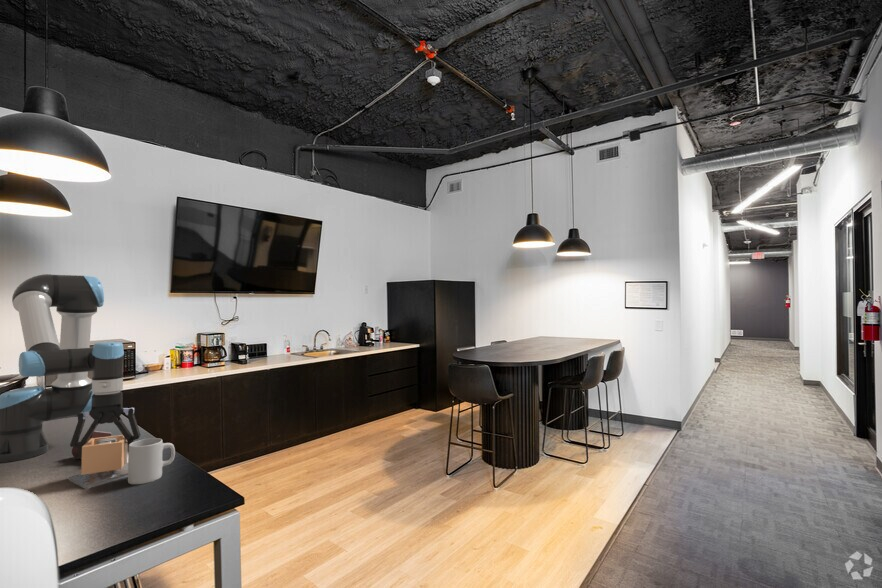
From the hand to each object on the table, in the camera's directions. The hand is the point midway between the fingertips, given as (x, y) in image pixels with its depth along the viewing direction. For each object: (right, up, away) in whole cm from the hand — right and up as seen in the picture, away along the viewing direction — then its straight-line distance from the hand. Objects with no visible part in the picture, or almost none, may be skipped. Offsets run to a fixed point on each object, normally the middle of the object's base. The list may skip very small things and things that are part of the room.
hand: (105, 465), depth 129 cm
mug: (+15, -3, -1) cm, 15 cm away
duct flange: (0, -3, 0) cm, 3 cm away
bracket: (-14, -4, +15) cm, 21 cm away
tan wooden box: (0, 0, 0) cm, 0 cm away
